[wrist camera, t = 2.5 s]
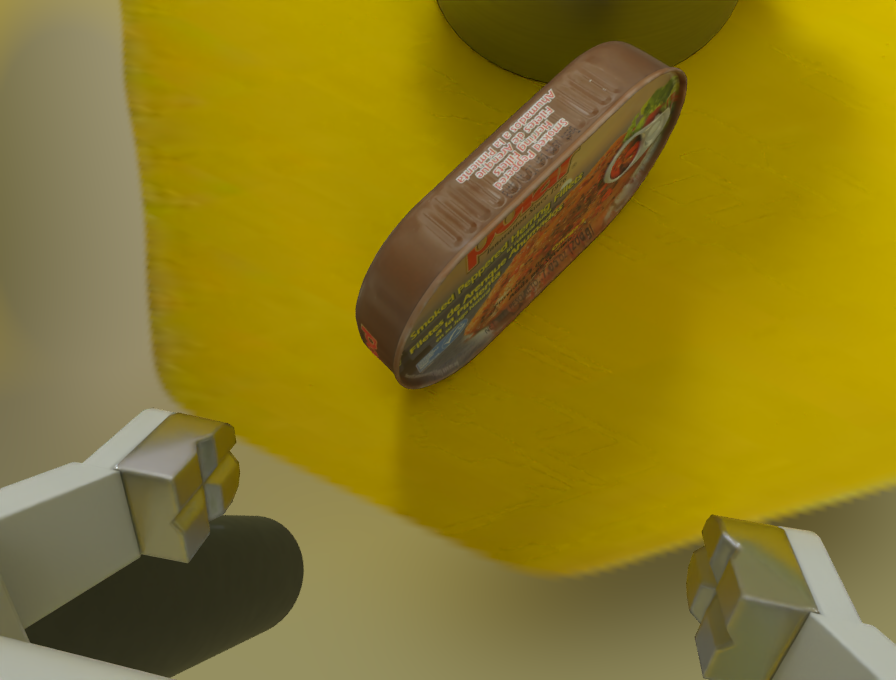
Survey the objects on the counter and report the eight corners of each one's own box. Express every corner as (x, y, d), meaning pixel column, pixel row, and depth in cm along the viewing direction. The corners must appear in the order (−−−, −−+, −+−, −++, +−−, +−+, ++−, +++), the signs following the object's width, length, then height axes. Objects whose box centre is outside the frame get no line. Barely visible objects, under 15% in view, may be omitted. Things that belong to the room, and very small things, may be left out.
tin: (420, 411, 24) (384, 357, 16) (369, 360, 25) (311, 284, 17) (659, 177, 26) (731, 26, 18) (605, 137, 27) (653, -24, 19)
